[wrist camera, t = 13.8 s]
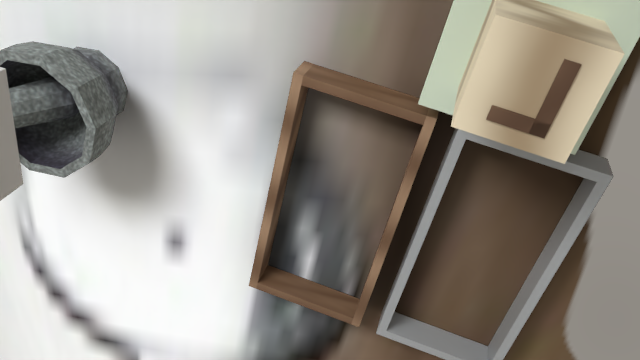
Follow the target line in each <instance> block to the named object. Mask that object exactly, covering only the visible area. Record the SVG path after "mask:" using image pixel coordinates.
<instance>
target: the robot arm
mask: <svg viewBox="0 0 640 360" xmlns="http://www.w3.org/2000/svg"><path fill="white" fill-rule="evenodd" d="M21 185H23V178H22V172H21V165H20V159H19V152H18V146H17V139H16V132H15V126H14V119H13V113H12V106H11V100H10V93H9V86H8V80H7V73H6V69H5V68H2V67H0V201H1V200H2V199H3V198H5V197H6V196H7V195H9V194H10V193H12V192H13V191H14V190H16V189H17V188H18V187H20V186H21Z"/></svg>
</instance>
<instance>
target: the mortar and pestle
mask: <svg viewBox="0 0 640 360" xmlns="http://www.w3.org/2000/svg"><path fill="white" fill-rule="evenodd" d="M0 67H2V68H5V69H6V73H7V80H8V86H9V93H10V100H11V106H12V113H13V119H14V126H15V132H16V139H17V146H18V152H19V159H20V163H22V164H23V165H24V166H25V167H26V168H28V169H29V170H32V171H36V172H41V173H46V174H50V175H55V176H59V177H64V178H65V177H66V176H68V175H70V174H71V173H73V172H75V171H77V170H78V169H80V168H82V167H84V166H85V165H87V164H89V163H90V162H92V161H93V160H94V159H96V158H97V157H98V156H100V155H101V154H102V153H103V151H104V150H105V149H106V148H107V147H108V146H109V144H110V142H111V137H112V133H113V128H114V123H115V118H116V115H117V114H119V113H120V112H122V111H123V110H124V105H125V100H126V96H127V88H126V86H125V83H124V81H123V78H122V76H121V73H120V71H119V68H118V67H117V66H116V65H115V64H114V63H113V62H111V61H110V60H109V59H108V58H107V57H106V56H104V55H103V54H102V53H101V52H100V51H99V50H93V49H87V48H81V47H76V48H74V49H71V48H68V47H62V46H56V45H50V44H44V43H38V42H28V43H21V44H16V45H13V46H10V47H8V48H5V49H3V50H1V51H0Z"/></svg>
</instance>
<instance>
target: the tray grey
mask: <svg viewBox="0 0 640 360" xmlns="http://www.w3.org/2000/svg"><path fill="white" fill-rule="evenodd" d="M466 139H467V140H470V141H473V142H476V143H479V144H482V145H485V146H488V147H491V148H494V149H498V150H501V151H504V152H507V153H510V154H513V155H516V156H519V157H522V158H525V159H528V160H531V161H534V162H537V163H540V164H543V165H546V166H549V167H552V168H555V169H558V170H562V171H565V172H568V173H571V174H574V175H577V176H580V177H583V178H584V179H583V181H582V182H581V184H580V186H579V188H578V189H577V191H576V193H575V195H574V196H573V198H572V200H571V202H570V203H569V205H568V207H567V209H566V210H565V212H564V214H563V216H562V217H561V219H560V221H559V223H558V224H557V226H556V228H555V230H554V231H553V233H552V235H551V237H550V239H549V240H548V242H547V244H546V246H545V247H544V249H543V251H542V253H541V254H540V256H539V258H538V260H537V261H536V263H535V265H534V267H533V268H532V270H531V272H530V274H529V275H528V277H527V279H526V281H525V282H524V284H523V286H522V288H521V289H520V291H519V293H518V295H517V296H516V298H515V300H514V302H513V303H512V305H511V307H510V309H509V310H508V312H507V314H506V316H505V317H504V319H503V321H502V323H501V324H500V326H499V328H498V330H497V331H496V333H495V335H494V337H493V338H492V340H491V342H490V344H489V345H488V346H486V345H483V344H480V343H477V342H475V341H472V340H469V339H467V338H464V337H461V336H458V335H456V334H453V333H450V332H448V331H445V330H442V329H440V328H437V327H434V326H431V325H429V324H426V323H423V322H421V321H418V320H415V319H413V318H410V317H407V316H404V315H402V314H399V313H396V312H394V311H395V309H396V306H397V304H398V301H399V299H400V297H401V294H402V292H403V289H404V287H405V285H406V282H407V280H408V277H409V275H410V273H411V270H412V268H413V265H414V263H415V261H416V258H417V256H418V253H419V251H420V249H421V246H422V244H423V241H424V239H425V236H426V234H427V232H428V229H429V227H430V224H431V222H432V220H433V217H434V215H435V212H436V210H437V208H438V205H439V203H440V200H441V198H442V196H443V193H444V191H445V188H446V186H447V184H448V181H449V179H450V176H451V174H452V171H453V169H454V167H455V164H456V162H457V159H458V157H459V155H460V152H461V150H462V147H463V145H464V143H465V140H466ZM612 178H613V174H612V171H611V168H610V165H609V163H608V159H606V158H603V157H600V156H597V155H594V154H591V153H588V152H585V151H581V150H578V151H577V152H576V154H575V155H573V154H570V155H569V157H568V159H567V161H566V163H565V164H563V163H560V162H557V161H554V160H551V159H548V158H545V157H542V156H539V155H536V154H533V153H530V152H527V151H524V150H521V149H518V148H514V147H511V146H508V145H505V144H502V143H499V142H496V141H493V140H490V139H487V138H484V137H481V136H478V135H475V134H472V133H469V132H466V131H463V130H460V129H457V128H455V130H454V132H453V135H452V137H451V140H450V142H449V145H448V147H447V150H446V152H445V155H444V157H443V160H442V162H441V165H440V167H439V170H438V172H437V175H436V177H435V180H434V182H433V185H432V188H431V190H430V193H429V195H428V198H427V200H426V203H425V205H424V208H423V210H422V213H421V215H420V218H419V220H418V223H417V225H416V228H415V230H414V233H413V235H412V238H411V240H410V243H409V245H408V248H407V250H406V253H405V255H404V258H403V260H402V263H401V265H400V268H399V270H398V273H397V275H396V278H395V280H394V283H393V285H392V288H391V290H390V293H389V295H388V298H387V300H386V303H385V305H384V308H383V310H382V313H381V316H380V320H379V324H378V328H377V332H376V334H379V335H381V336H384V337H387V338H389V339H392V340H395V341H397V342H400V343H402V344H405V345H408V346H410V347H413V348H416V349H418V350H421V351H424V352H426V353H429V354H432V355H434V356H437V357H440V358H442V359H445V360H503V359H504V357H505V356H506V354H507V352H508V351H509V349H510V347H511V346H512V344H513V342H514V341H515V339H516V337H517V336H518V334H519V332H520V331H521V329H522V327H523V326H524V324H525V322H526V321H527V319H528V317H529V316H530V314H531V312H532V311H533V309H534V308H535V306H536V304H537V303H538V301H539V299H540V298H541V296H542V294H543V293H544V291H545V289H546V288H547V286H548V284H549V283H550V281H551V279H552V278H553V276H554V274H555V273H556V271H557V269H558V268H559V266H560V264H561V263H562V261H563V259H564V258H565V256H566V254H567V253H568V251H569V250H570V248H571V246H572V245H573V243H574V241H575V240H576V238H577V236H578V235H579V233H580V231H581V230H582V228H583V226H584V225H585V223H586V221H587V220H588V218H589V216H590V215H591V213H592V211H593V210H594V208H595V206H596V205H597V203H598V201H599V200H600V198H601V196H602V195H603V193H604V192H605V190H606V188H607V187H608V185H609V183H610V182H611V180H612Z"/></svg>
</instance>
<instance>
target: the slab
mask: <svg viewBox="0 0 640 360" xmlns="http://www.w3.org/2000/svg"><path fill="white" fill-rule="evenodd" d="M536 1H539V2H543V3H546V4H549V5H553V6H556V7H559V8H563V9H566V10H569V11H573V12H576V13H579V14H583V15H586V16H589V17H593V18H596V19H600V20H603V21H605V22H606V24H607V25H608V27H609V29H610V30H611V32H612V34H613V35H614V37H615V38H616V40H617V42H618V43H619V45H620V47H621V48H622V50H623V52H624V53H625V54H624V56H623V58H622V60H621V62H620V63H619V65H618V67H617V69H616V71H615V73H614V75H613V76H612V78H611V80H610V82H609V84H608V86H607V87H606V89H605V91H604V93H603V95H602V97H601V98H600V100H599V102H598V104H597V106H596V108H595V109H594V111H593V113H592V115H591V117H590V119H589V120H588V122H587V124H586V126H585V128H584V130H583V131H582V133H581V135H580V137H579V139H578V141H577V142H576V144H575V146H574V148H573V150H572V152H571V153H570V154H573V155H575V154H576V152H577V151H578V149H579V147H580V145H581V143H582V141H583V140H584V138H585V136H586V134H587V132H588V130H589V129H590V127H591V125H592V123H593V121H594V119H595V118H596V116H597V114H598V112H599V110H600V108H601V107H602V105H603V103H604V101H605V99H606V97H607V96H608V94H609V92H610V90H611V88H612V86H613V85H614V83H615V81H616V79H617V77H618V75H619V74H620V72H621V70H622V68H623V66H624V64H625V63H626V61H627V59H628V57H629V55H630V53H631V52H632V50H633V48H634V46H635V44H636V42H637V41H638V39H639V37H640V0H536ZM491 2H492V0H454V1H453V4H452V7H451V10H450V13H449V15H448V18H447V21H446V24H445V27H444V30H443V33H442V36H441V38H440V41H439V44H438V47H437V50H436V53H435V56H434V58H433V61H432V64H431V67H430V70H429V73H428V76H427V79H426V81H425V84H424V87H423V90H422V93H421V96H420V99H419V102H418V104H419V105H422V106H425V107H428V108H431V109H435V110H438V111H441V112H444V113H447V114H450V115H453V112H454V107H455V102H456V97H457V92H458V87H459V84H460V82H461V79H462V76H463V74H464V71H465V69H466V66H467V64H468V61H469V58H470V56H471V53H472V51H473V48H474V46H475V43H476V40H477V38H478V35H479V33H480V30H481V28H482V25H483V22H484V20H485V17H486V15H487V12H488V10H489V7H490V5H491Z"/></svg>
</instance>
